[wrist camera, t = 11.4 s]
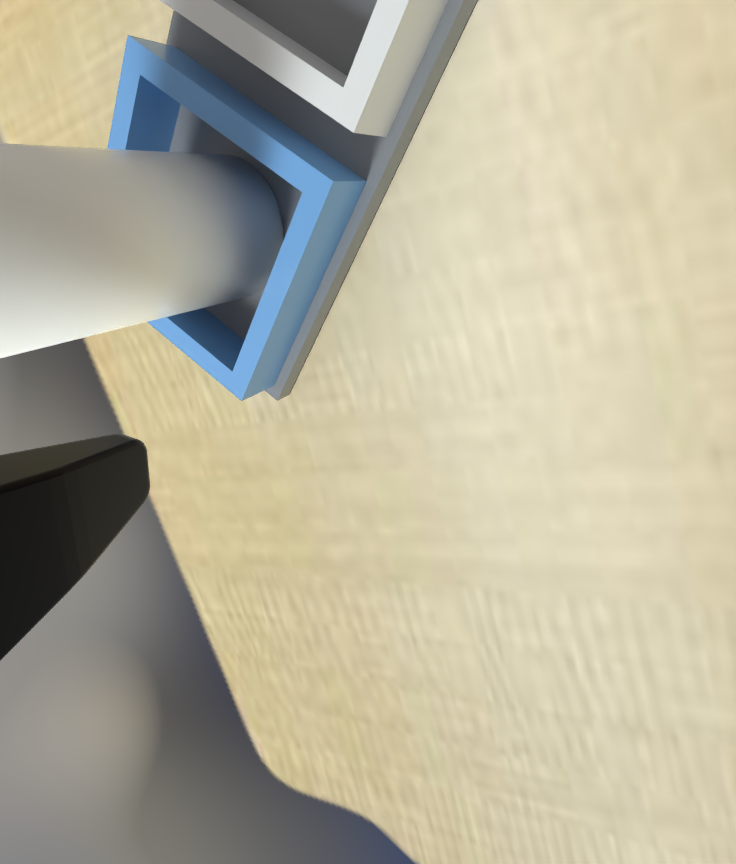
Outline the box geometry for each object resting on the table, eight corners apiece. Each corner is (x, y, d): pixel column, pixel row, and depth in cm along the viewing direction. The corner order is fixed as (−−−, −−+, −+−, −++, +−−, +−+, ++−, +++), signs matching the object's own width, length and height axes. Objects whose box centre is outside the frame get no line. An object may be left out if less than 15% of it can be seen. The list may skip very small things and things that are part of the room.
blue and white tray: (288, -405, 15) (211, -513, 12) (600, -258, 13) (577, -352, 11) (132, 267, 26) (77, 275, 23) (288, 394, 24) (245, 417, 22)
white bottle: (305, 216, 20) (-164, 256, 9) (248, 324, 22) (-156, 448, 12) (207, 123, 20) (-337, 63, 10) (164, 240, 23) (-290, 290, 13)
